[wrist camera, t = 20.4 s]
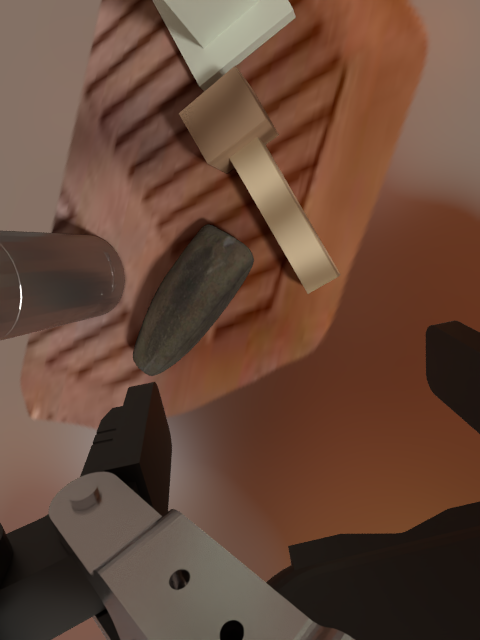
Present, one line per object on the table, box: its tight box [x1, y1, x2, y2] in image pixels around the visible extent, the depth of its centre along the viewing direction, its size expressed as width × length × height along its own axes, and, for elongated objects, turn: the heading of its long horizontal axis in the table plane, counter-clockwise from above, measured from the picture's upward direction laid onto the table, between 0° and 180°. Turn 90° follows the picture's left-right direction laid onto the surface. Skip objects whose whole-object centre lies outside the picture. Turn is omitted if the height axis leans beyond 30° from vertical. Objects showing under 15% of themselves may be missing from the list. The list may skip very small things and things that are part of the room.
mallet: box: [179, 66, 340, 294], centre depth 36 cm, size 19×6×5 cm, turn 32°
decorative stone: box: [133, 224, 254, 376], centre depth 41 cm, size 17×6×4 cm, turn 145°
